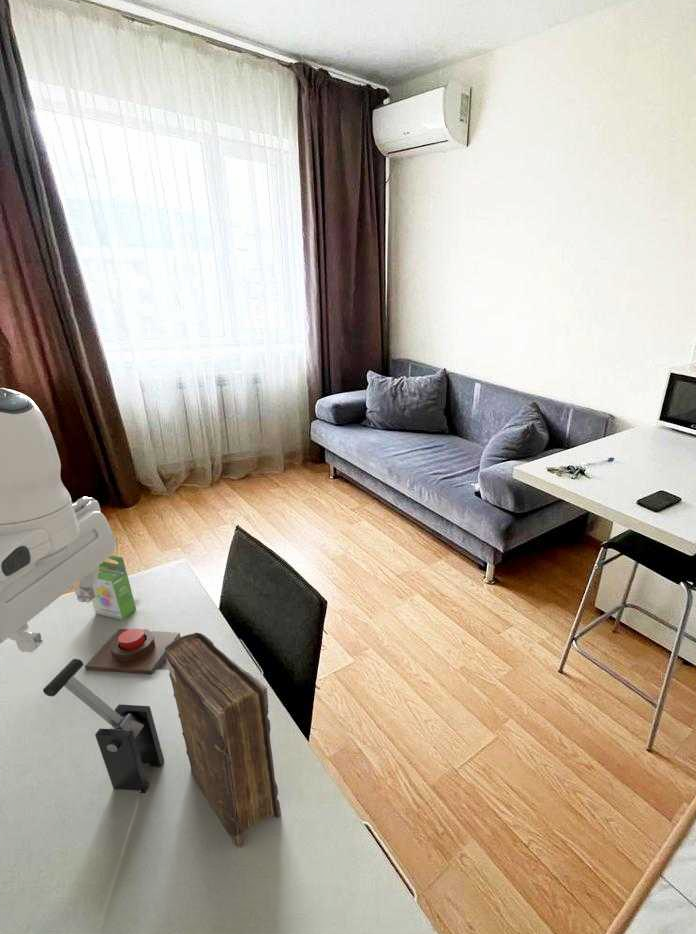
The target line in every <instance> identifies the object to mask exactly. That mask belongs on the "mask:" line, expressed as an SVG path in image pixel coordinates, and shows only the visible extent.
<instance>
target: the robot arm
mask: <svg viewBox="0 0 696 934" xmlns="http://www.w3.org/2000/svg"><path fill="white" fill-rule="evenodd" d="M59 455H60V454H59V452H58V449H57V446H56V443H55V440H54V437H53V434H52V432H51V429H50V426H49V425H48V422H47V420H46V418H45V416H44V414H43V412H42V411H41V410H40V408H39V406H38V405H37V404H36V403H35V401H34V400H33V399H31V398H30V397H29V396H28V395H26V394H24V393H22V392H19V391H16V390H13V389H10V388H4V387H0V644H2V643H4V642H5V641H6V640H7V639H10V640H12V641H15V644H16V646H17V648H18V650H19V651H20V652H22V653H33V652H34V651H35V650H37V648H39V647H40V646H41V645H42V644H43V643H44V641H43V639H42V635H41V632H31V631H27V630H28V629H29V624H28V623H29V622H30V621H32V619H34V618H35V617H36V616H37V615H39V614H40V613H41V612H42V611H44V610H45V609H46V608H47V607H49V606H50V605H51V604H52V603H54V602H55V601H56V600H57V599H59V598H60V597H61V596H62V595H64V594H65V593H66V592H68V591H69V590H70V589H72V588H73V587H74V586H75V585H76V584H77V583H79V584H78V588H77V589H76V590H74V593H75V595H76V599H77V601H78V602H79V603H80V602H81V603H89V604H90V603H91V602H92V600H93V599H94V598H95V597H96V596H97V595H98V594H97V590H96V583H97V578H98V574H99V569H98V566H99V565H100V564H101V563H103V562H104V561H105V562H106V561H107V560H108V558H109V557H110V556H111V555H113V556H114V554H115V551H116V547H117V542H116V539H115V536H114V533H113V530H112V528H111V525H110V523H109V521H108V519H107V517H106V516H105V514H103V513H102V510H101V506H100V503H99V501H98V500H96V499H95V498H93V497H88V496H83V497H79V498H78V499H77V500H76V501H75V502H73V500H72V497H71V494H70V492H69V491H68V489H67V488H66V486H65V485H64V483H63V481H62V478H61V477H62V476H61V471H62V470H61V469H62V463H61V459H60V456H59ZM109 559H110V558H109Z"/></svg>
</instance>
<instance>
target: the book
mask: <svg viewBox="0 0 696 934" xmlns="http://www.w3.org/2000/svg"><path fill="white" fill-rule="evenodd" d="M164 651H165V656H166V660H167V661H166V663H167V664H166V665H167V668H168V672H169V673H168V676H169V679H170V682H171V687H172V689H173V697H174V699H175V704H176V707H177V708H176V709H177V711H178V715H177V716H178V718H179V721H180V725H181V730H182V733H181V734H182V736H183V739H184V744H185V748H186V751H185V752H186V755H187V757H188V760H189V761H188V762H189V765H190V769H191V775H192V777H193V779H194V781H195V783H196V784H197V786H198V788H199V790H200V791H201V792H202V794H203V796H204V798H205V799H206V801H207V802H208V805H209V806H210V808H211V809H212V811H213V812H214V814H215V816H216V817H217V818H218V820H219V822H220V823H221V825H222V826H223V828H224V829H225V830H226V831H225V832H227V834H228V836H229V837H230V838H231V840H232V843H233V844H234V846H235V845H236V847H238V849H240V848H243V847H244V843H243V834H245V832H246V830H249V829H250V828H251V826H253V825H256V823H258V822H260V821H261V820H263V819H266V818H267V817H269V816H271V817H276V819H277V818H280V817H281V816H282V809H281V803H280V801H279V799H278V795H279V788H278V785H277V782H276V776H275V775H276V774H275V765H274V760H273V759H274V758H273V750H272V744H271V721H270V719H269V717H268V716H269V697H268V696H269V695H268V688H267V687H266V686H265V685H264V683H262V682H261V681H260V680H259V679H258V678H257V677H254V676H253V675H252V674H251V673H250V672H249V671H248V672H247V671H246V670H244V669H243V668H242V667H241V666H240V665H238V664H237V663H236V662H234V661H233V660H232V659H231V658H230V657H228V656H227V655H226V654H225V653H224V652H223V651H221V650H220V649H219V648H218V647H217V646H216V645H215V644H214V641H212V640H211V639H210V638H208V636H206V635H205V634H203V633H201V632H194V633H189V634H186V635H183V636H181V637H180V638H178V639H176V640H174V641H173V642H172V643H170V644H169V645H167V646H166V647H165V650H164Z"/></svg>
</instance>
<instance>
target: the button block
mask: <svg viewBox="0 0 696 934" xmlns="http://www.w3.org/2000/svg"><path fill="white" fill-rule="evenodd" d="M130 629H131V628H129V629H128V628H119V629H118V630H116V632H114V634H113V635H112V636H111V637H110V638H109V639H108V640H107V641H106V642H105V644H103V646H102V647H101V648H100V649H99V650H98V651H97V652H96V653H95V654H94V655H93V656H92V657H91V658H90V659H89V661H87V663H86V664H84V669H85V671H94V672H106V673H107V672H108V673H122V674H123V673H126V674H139V675H153V674H154V672H155V671H156V670H161V669H162V668H163V667H164V666H165V664H166V663H167V660H166V656H165V651H164V650H165V647H166V646H167V645H169V644H170V643H172V642H173V641H174V640H176V639H178V638H180V637H182V636H181V632H176V631H175V632H174V631H160V630H159V631H158V630H150V629H149V628H140V629H141V630H143V633H144V637H145V642H144V643H143V644H142V645H141V646H139V647H137V648H134V649H131V650H123V649H121V647H120V644H119V640H118V638H119V636H120V635H121V634H122V633H123V632H125V631H127V630H130Z"/></svg>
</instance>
